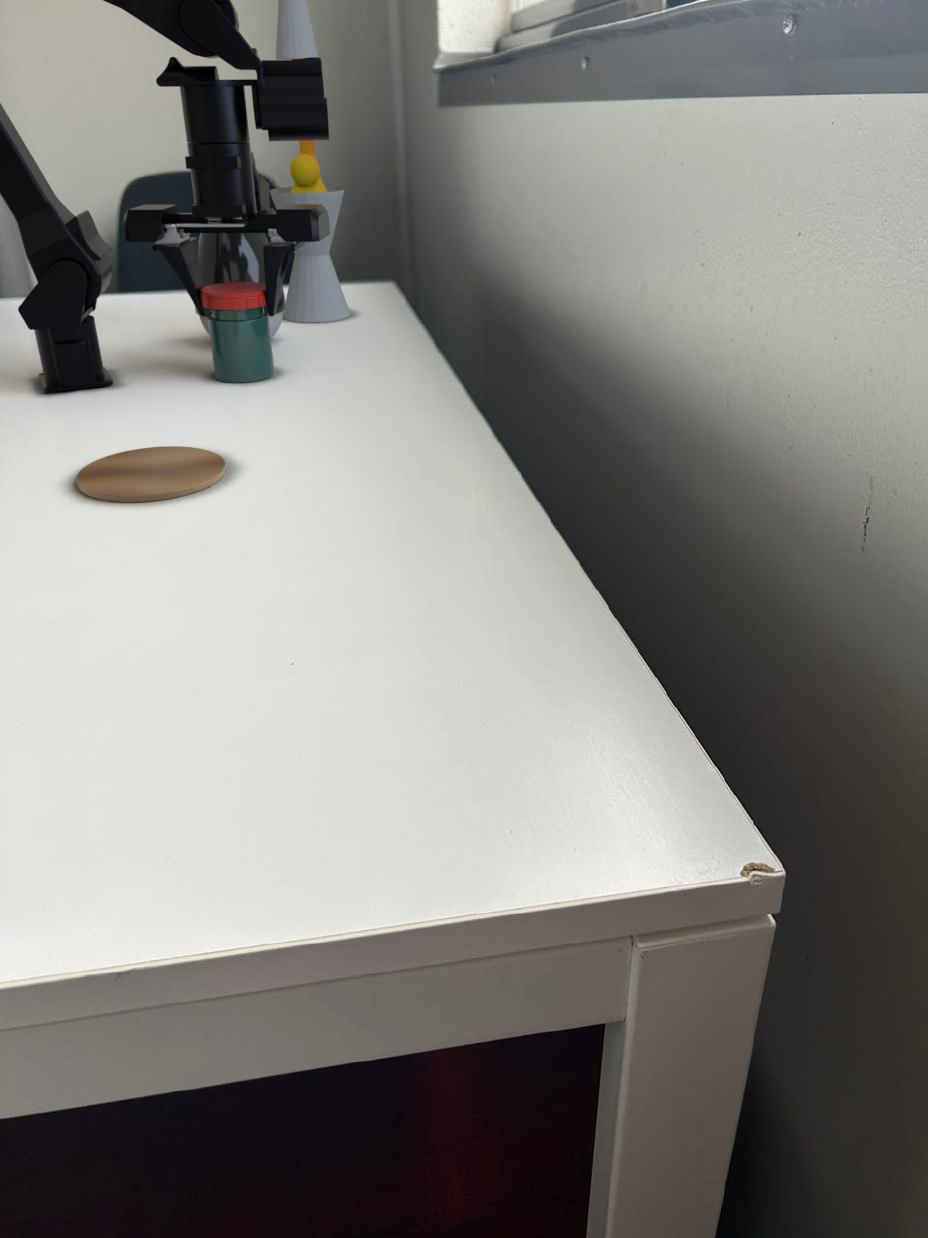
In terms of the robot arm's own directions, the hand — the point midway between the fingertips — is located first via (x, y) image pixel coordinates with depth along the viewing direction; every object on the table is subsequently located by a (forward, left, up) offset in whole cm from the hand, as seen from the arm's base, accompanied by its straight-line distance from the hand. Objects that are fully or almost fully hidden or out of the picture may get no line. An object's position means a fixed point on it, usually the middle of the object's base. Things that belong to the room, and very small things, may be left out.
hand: (238, 315), depth 99 cm
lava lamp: (-25, +16, -6) cm, 30 cm away
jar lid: (0, 0, +2) cm, 2 cm away
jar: (0, 0, -6) cm, 6 cm away
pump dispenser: (-15, +4, -6) cm, 17 cm away
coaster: (+26, -14, -6) cm, 30 cm away
